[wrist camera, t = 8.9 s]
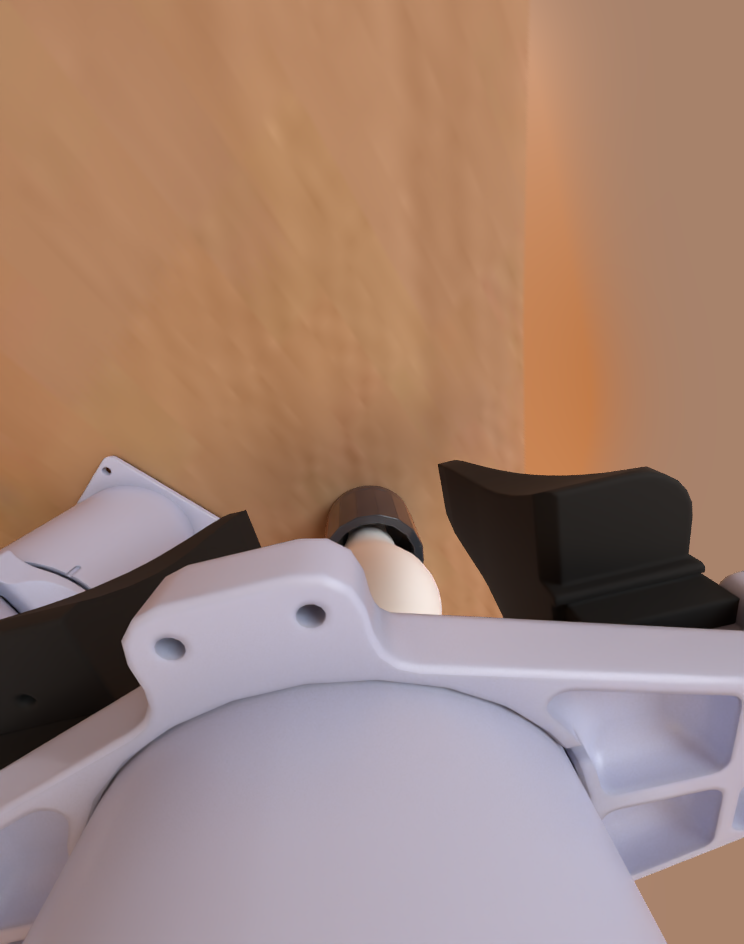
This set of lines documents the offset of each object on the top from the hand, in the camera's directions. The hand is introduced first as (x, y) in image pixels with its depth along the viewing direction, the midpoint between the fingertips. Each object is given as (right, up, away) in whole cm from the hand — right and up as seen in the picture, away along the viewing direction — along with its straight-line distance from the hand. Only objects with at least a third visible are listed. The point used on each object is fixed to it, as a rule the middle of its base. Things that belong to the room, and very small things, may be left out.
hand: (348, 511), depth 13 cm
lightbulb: (+1, -2, +12) cm, 12 cm away
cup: (+1, -2, +12) cm, 12 cm away
